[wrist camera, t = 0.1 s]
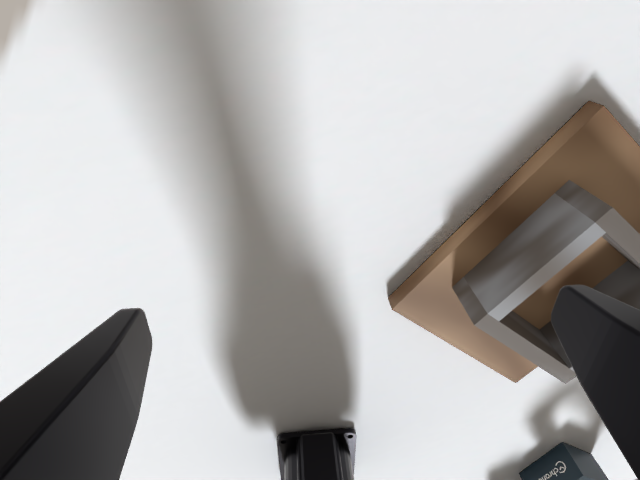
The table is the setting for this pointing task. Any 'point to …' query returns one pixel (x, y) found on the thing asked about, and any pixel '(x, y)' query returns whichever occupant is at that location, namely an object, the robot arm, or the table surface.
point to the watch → (564, 465)
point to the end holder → (536, 250)
